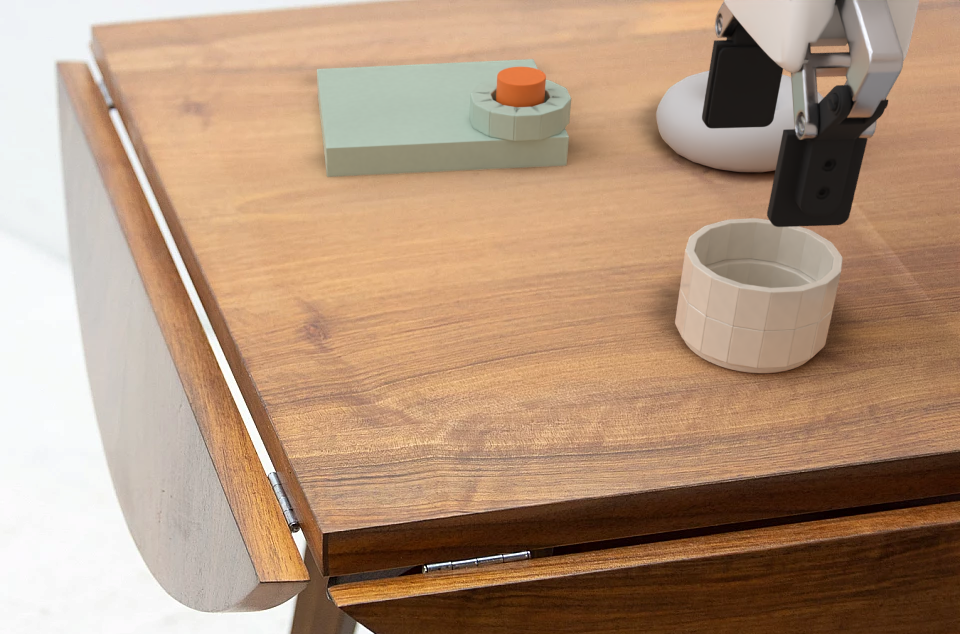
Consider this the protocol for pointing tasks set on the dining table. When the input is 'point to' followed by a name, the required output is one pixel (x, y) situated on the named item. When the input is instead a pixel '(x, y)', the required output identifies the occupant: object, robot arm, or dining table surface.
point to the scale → (435, 120)
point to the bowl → (757, 294)
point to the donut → (721, 129)
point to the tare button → (520, 87)
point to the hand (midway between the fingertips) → (769, 170)
